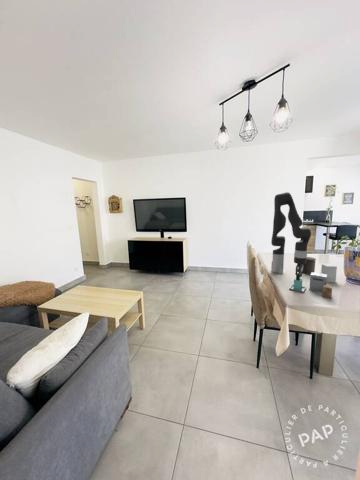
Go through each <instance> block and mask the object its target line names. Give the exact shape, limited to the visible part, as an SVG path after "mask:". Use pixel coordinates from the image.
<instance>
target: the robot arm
mask: <svg viewBox="0 0 360 480" xmlns="http://www.w3.org/2000/svg"><path fill="white" fill-rule="evenodd" d="M273 204H274V214H273V222H272V223H273V224H272V226H273V227H272V236H271V242H270V243H271V245H272V247H278V248H276V249H273V250H272V258H271V259H272V261H271V267H270V268H271V269H270V272H272V273H275V274H283V273H284V261H285V248H286V247H285V246H286V245H285V244H286V237H285V236H284V235H278V234H279V233H280V232H281V231H282V230H284V229H285V227H286V223H287V219H288V221H289V223H290V225H291V230H292V235H293V237H294V238H295V239H300V240H298V241H296V242H295V244H294V245H295V247H294V254H293V255H294V257H293V262H294V263H295V264H296V265H295V278H296V280H298V281H299V280H300V279H301V278H302V276H303V273H302V272H303V264H306V262H307V257H308V244H309V242H310V238H311V236H312V231H311V229H310V228H309V227H302V226H303V224H304V222H303V220H302V218H301V217H300V215H299V212H298V211H297V208H296V205H295V202H294V199H293V196H292V194H291V193H290V192H288V191H287V192H281V193H278V194H276V195H275V196H274V203H273ZM285 205H288V212H287V216H286V215H285V214H284V213H283V212H282V210H281V207H282V206H285Z"/></svg>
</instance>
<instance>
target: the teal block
mask: <svg viewBox="0 0 360 480" xmlns="http://www.w3.org/2000/svg"><path fill="white" fill-rule="evenodd" d="M293 285H294V287H293V289H296V290H301V289H302V286H303V278H300V280H299V281H298V280H296V277H294V279H293Z"/></svg>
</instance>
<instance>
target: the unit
mask: <svg viewBox="0 0 360 480" xmlns="http://www.w3.org/2000/svg"><path fill="white" fill-rule="evenodd" d="M324 285H328V282H327V274H321V272H312V273H311V275H310V279H309V291H310V290H311V291H315V292H320V293H323V286H324Z"/></svg>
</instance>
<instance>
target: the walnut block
mask: <svg viewBox="0 0 360 480" xmlns="http://www.w3.org/2000/svg"><path fill="white" fill-rule="evenodd" d="M333 287H334V286H332V285H328V284H326V285H324V286H323V292H322V298H325V299H330V300H331V299H332V296H333V294H332V293H333Z"/></svg>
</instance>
